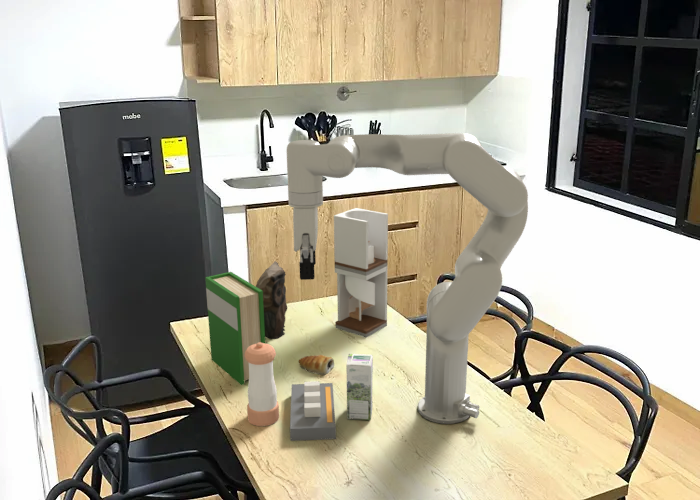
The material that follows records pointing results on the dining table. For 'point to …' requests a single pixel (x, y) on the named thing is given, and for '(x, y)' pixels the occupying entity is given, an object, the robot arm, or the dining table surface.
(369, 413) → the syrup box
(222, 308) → the hardback book
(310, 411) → the paddle
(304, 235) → the robot arm
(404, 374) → the dining table surface
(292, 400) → the breaker panel
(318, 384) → the paddle
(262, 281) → the owl
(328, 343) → the dining table surface
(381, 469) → the dining table surface
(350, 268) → the white tower
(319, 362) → the pastry
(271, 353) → the pepper shaker
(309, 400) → the middle paddle
